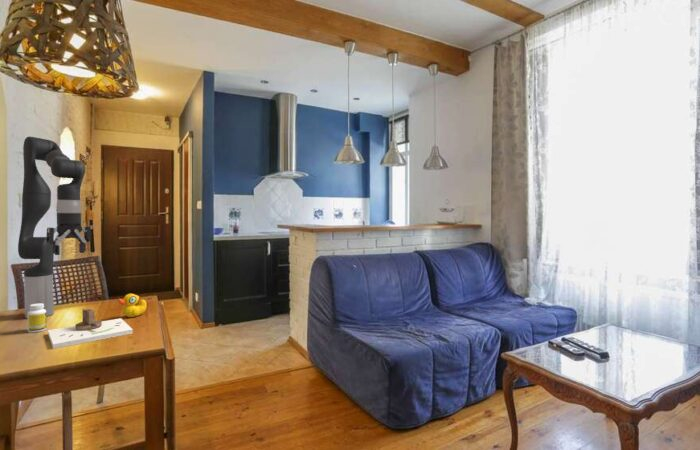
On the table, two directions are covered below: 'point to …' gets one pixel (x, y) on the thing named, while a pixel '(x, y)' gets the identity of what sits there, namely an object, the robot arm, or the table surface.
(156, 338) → the table surface
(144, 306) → the duckling
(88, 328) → the knob
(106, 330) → the dial board
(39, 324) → the supplement bottle
